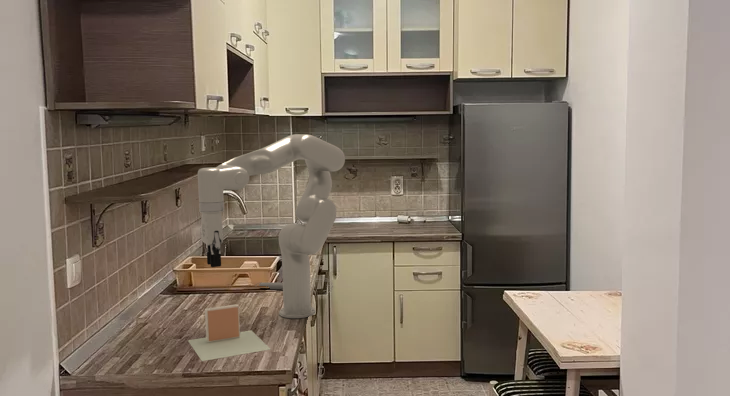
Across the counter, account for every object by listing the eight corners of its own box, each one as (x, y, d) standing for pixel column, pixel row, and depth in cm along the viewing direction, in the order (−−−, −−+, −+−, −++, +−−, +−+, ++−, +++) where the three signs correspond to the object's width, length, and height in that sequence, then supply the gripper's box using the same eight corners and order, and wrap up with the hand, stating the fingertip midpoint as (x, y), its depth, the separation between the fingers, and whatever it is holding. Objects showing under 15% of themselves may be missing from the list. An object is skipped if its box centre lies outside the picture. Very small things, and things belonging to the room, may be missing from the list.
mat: (187, 342, 201) (187, 340, 201) (251, 332, 209) (251, 330, 209) (202, 363, 183) (201, 361, 183) (270, 351, 192) (270, 349, 191)
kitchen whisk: (259, 286, 268) (258, 271, 268) (336, 293, 257) (335, 277, 257) (252, 290, 263) (251, 275, 262) (330, 297, 252) (329, 281, 251)
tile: (206, 340, 200) (204, 308, 199) (238, 335, 204) (237, 304, 203) (207, 342, 198) (206, 310, 197) (240, 337, 202) (239, 305, 201)
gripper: (193, 205, 210) (196, 261, 212) (205, 211, 195) (208, 271, 197) (217, 203, 213) (219, 259, 215) (230, 209, 198) (232, 269, 200)
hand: (214, 264), depth 206 cm, fingers open, 3 cm apart
